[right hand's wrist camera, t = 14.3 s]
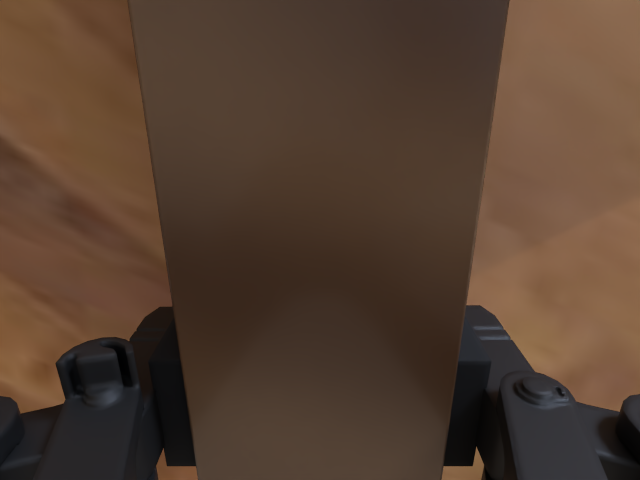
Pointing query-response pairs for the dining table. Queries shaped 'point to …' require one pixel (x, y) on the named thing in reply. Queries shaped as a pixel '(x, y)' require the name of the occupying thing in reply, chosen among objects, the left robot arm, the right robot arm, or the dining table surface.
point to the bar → (319, 222)
